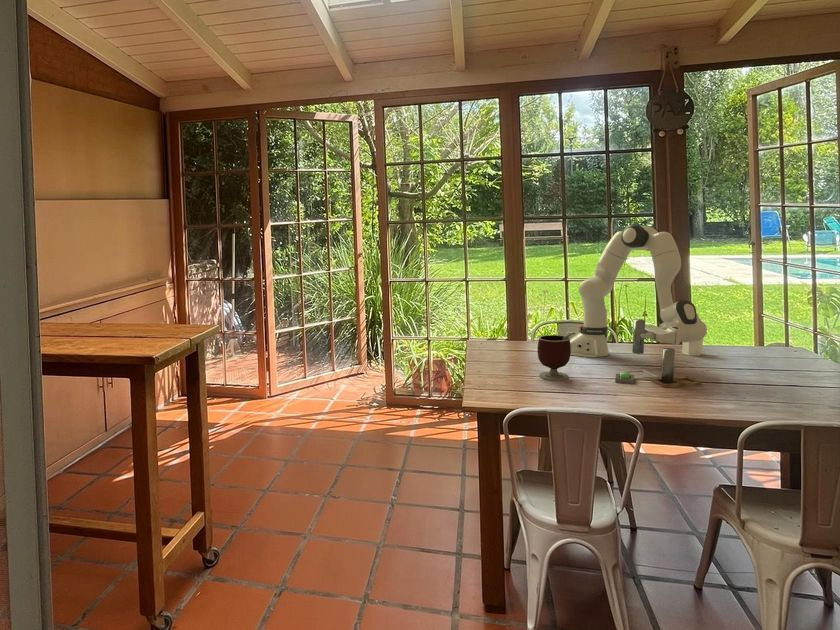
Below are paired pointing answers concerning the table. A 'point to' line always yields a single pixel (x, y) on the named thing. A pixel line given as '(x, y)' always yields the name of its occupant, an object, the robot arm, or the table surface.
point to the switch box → (624, 379)
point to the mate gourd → (554, 355)
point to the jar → (692, 348)
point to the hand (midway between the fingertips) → (637, 334)
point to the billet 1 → (638, 336)
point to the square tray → (643, 371)
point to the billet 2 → (667, 365)
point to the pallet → (677, 382)
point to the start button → (624, 375)
